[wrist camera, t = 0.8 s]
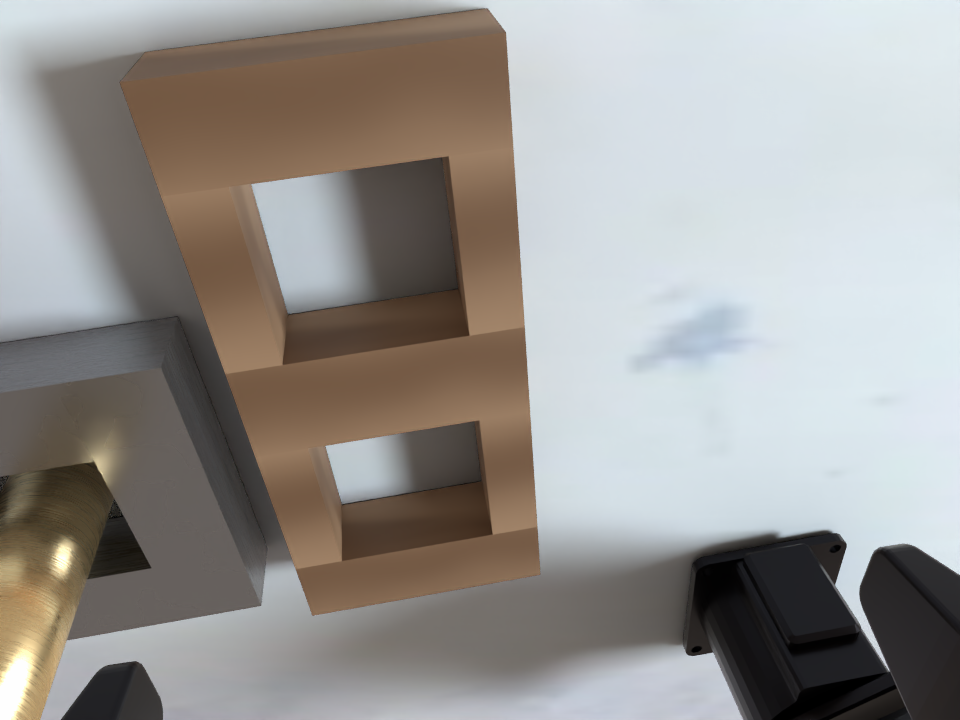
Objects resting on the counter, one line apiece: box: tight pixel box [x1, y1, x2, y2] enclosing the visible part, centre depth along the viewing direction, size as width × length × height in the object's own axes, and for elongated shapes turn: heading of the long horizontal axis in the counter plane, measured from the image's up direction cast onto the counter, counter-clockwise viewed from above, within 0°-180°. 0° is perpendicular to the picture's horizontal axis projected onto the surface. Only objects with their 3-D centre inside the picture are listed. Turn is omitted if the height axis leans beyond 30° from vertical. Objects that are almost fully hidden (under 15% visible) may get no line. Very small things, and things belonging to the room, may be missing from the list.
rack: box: [120, 8, 540, 616], centre depth 22 cm, size 18×8×2 cm, turn 5°
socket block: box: [0, 317, 267, 640], centre depth 23 cm, size 10×10×2 cm
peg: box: [0, 462, 114, 720], centre depth 20 cm, size 3×3×9 cm
